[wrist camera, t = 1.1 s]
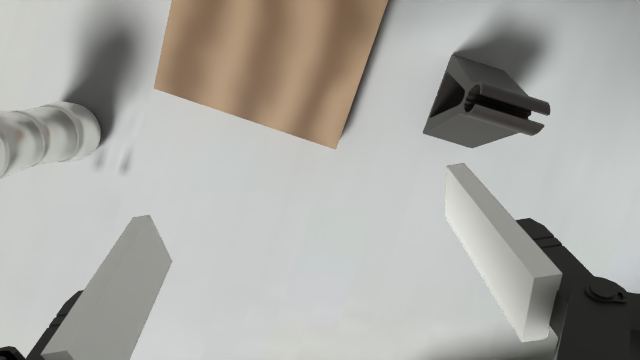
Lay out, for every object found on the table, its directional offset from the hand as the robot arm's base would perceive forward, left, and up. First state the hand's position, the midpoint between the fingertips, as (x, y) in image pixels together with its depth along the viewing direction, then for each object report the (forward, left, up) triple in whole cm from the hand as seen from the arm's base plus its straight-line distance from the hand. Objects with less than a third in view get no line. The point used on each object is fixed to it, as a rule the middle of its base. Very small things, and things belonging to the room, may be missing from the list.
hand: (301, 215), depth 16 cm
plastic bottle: (+27, +8, -27) cm, 39 cm away
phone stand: (-14, -9, -27) cm, 32 cm away
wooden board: (+8, -9, -27) cm, 29 cm away
